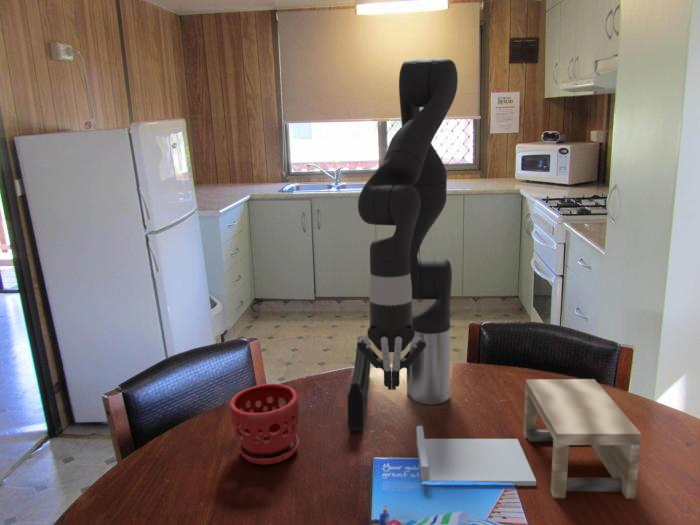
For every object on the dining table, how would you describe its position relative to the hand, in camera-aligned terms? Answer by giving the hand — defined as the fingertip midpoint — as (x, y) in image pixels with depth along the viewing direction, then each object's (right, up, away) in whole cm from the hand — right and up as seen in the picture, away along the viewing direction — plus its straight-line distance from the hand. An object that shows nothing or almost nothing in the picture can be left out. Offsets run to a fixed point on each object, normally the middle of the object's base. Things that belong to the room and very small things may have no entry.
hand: (391, 387), depth 105 cm
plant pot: (-24, -15, +8) cm, 29 cm away
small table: (+34, -14, +2) cm, 37 cm away
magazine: (-5, -10, +29) cm, 31 cm away
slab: (+15, -15, +3) cm, 22 cm away
